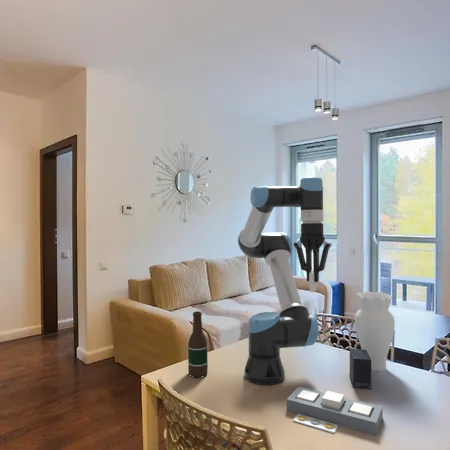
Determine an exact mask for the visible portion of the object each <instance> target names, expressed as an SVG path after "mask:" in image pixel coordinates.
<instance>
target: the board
mask: <svg viewBox="0 0 450 450" xmlns="http://www.w3.org/2000/svg"><path fill="white" fill-rule="evenodd" d="M302 390H305V391H309V392H314V393H318V394H319V398H318V399H317V400H316V401H315V403H312V402H308V401H304V400H300V399H297V396H298V395H299V394H300V392H301V391H302ZM325 393H326V392H323V391H318V390H313V389H310V388H306V387H301V386H297V388H296V389H295V390H294V391H293V392H292V393H291V394H290V395H289V396H288V397H287V398H286V411H288V412H290V413H295V414H297V415H298V414H301V415H304V416H308V417H311V418H315V419H318V420H322V421H325V422H329V423H333V424H336V425H338V426H342V427H343V428H344V427H345V428H348V429H351V430H355V431H359V432H363V433H365V434H370V435H373V436H377V435H378V432H379V429H380V427H381V424H382V421H383V418H384V417H383V413H384V412H383V406H381V405H376V404H372V403H368V402H364V401H359V400H356V399H352V398H348V397H344V404H343V406H342V407H341V409H340V410H339V409H335V408H331V407H327V406H323V405H322V397H323V396H324V395H325ZM354 402H355V403H359V404H363V405H367V406H371V407H372V415H371V417H370V418H369V417H366V416H362V415H358V414H354V413H350V408H351V407H352V405H353V403H354Z"/></svg>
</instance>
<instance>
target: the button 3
mask: <svg viewBox="0 0 450 450" xmlns="http://www.w3.org/2000/svg"><path fill="white" fill-rule="evenodd" d="M350 413H354V414H358V415H362V416H366V417H369V418H370V417H371V415H372V407H371V406H367V405H363V404H359V403H355V402H354V403H353V405H352V407H351V408H350Z"/></svg>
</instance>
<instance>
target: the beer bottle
mask: <svg viewBox="0 0 450 450" xmlns="http://www.w3.org/2000/svg"><path fill="white" fill-rule="evenodd" d="M202 315H203V312H201V311H199V310H198V311H193V312H192V318H193V319H192V333H191V335H190V336H189V339H188V343H187V345H188V346H187V353H188V354H187V355H188V367H187V368H188V376H189V375H191V376H193V377H202V376H204V377H206V376H205V375H208V369H209V368H208V364H209V363H208V360H209V359H208V339H207V336H206V334H205V333H204V332H203V322H202V319H203V318H202ZM191 376H190V377H191ZM193 377H192V378H193ZM202 378H203V377H202Z"/></svg>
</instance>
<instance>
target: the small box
mask: <svg viewBox="0 0 450 450" xmlns="http://www.w3.org/2000/svg"><path fill="white" fill-rule="evenodd" d="M349 379H350V382H351V384H352V388H357V389H367V390H370V389H371V390H372V370H371V358H370V356H369V354H368V353H367V351H366V350H362V348H360V349H359V348H351V347H350V348H349Z"/></svg>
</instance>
